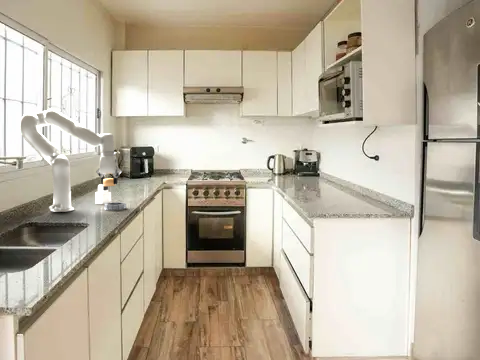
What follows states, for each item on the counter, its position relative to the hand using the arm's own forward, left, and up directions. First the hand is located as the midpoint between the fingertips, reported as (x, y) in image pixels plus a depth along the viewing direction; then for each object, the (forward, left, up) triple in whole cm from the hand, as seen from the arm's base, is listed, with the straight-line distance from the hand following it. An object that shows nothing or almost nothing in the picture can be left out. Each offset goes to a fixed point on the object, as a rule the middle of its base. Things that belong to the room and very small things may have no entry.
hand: (109, 184), depth 283 cm
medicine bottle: (+17, +14, -15) cm, 26 cm away
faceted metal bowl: (-1, -4, -15) cm, 15 cm away
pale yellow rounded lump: (0, 0, -1) cm, 1 cm away
